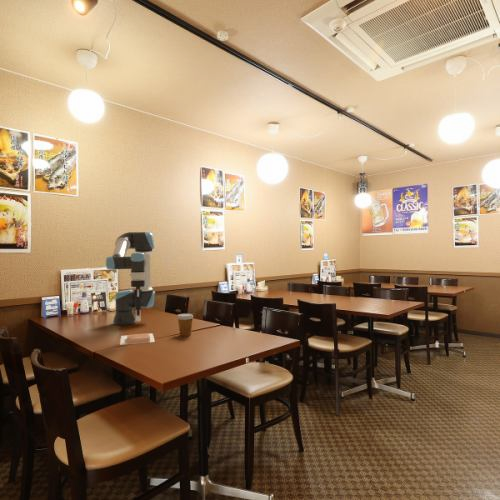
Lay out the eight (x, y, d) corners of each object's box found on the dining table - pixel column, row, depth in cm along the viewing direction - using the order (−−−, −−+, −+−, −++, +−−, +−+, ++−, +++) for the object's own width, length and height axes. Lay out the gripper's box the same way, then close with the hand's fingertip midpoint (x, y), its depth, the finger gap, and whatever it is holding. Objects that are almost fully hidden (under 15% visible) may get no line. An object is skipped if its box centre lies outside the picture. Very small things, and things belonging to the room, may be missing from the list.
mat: (121, 336, 207) (121, 335, 207) (152, 334, 212) (152, 333, 212) (119, 346, 186) (119, 344, 186) (154, 342, 191) (154, 341, 191)
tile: (127, 334, 200) (126, 339, 189) (149, 333, 204) (149, 337, 192) (127, 338, 200) (126, 343, 188) (149, 336, 204) (150, 341, 192)
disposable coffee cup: (190, 336, 205) (189, 316, 205) (174, 336, 207) (174, 316, 207) (195, 333, 214) (195, 313, 214) (181, 332, 216) (180, 313, 216)
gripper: (131, 279, 206) (131, 319, 205) (130, 280, 193) (131, 323, 193) (144, 278, 208) (144, 318, 208) (145, 280, 196) (145, 322, 195)
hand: (138, 321), depth 200 cm, fingers closed
